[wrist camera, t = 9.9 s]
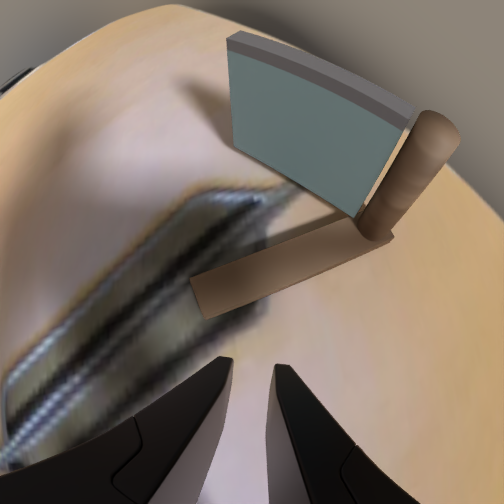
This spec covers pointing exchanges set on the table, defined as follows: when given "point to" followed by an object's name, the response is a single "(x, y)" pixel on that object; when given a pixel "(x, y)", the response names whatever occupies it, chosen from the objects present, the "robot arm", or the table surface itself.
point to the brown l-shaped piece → (334, 227)
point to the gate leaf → (312, 119)
